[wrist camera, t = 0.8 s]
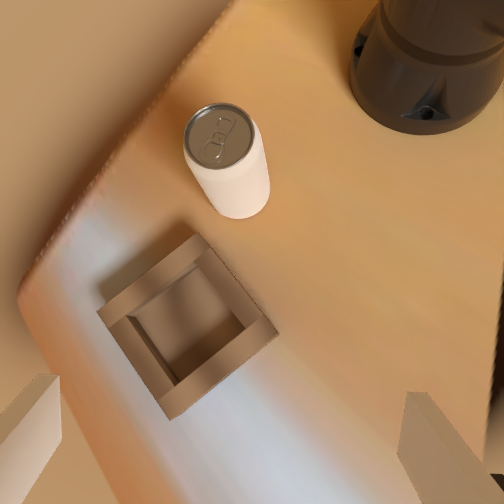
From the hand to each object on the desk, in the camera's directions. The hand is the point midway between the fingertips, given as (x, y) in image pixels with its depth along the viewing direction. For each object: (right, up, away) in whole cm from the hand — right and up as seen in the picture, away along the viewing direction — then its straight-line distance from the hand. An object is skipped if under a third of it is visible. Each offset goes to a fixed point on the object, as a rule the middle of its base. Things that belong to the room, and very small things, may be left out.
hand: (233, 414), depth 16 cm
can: (-1, +12, +28) cm, 31 cm away
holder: (-5, -1, +26) cm, 26 cm away
